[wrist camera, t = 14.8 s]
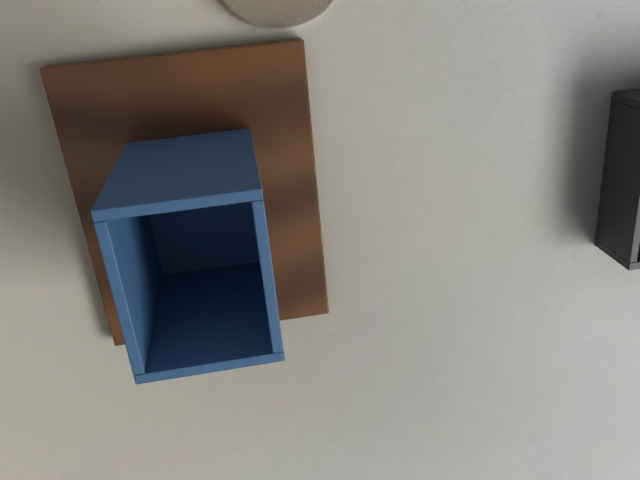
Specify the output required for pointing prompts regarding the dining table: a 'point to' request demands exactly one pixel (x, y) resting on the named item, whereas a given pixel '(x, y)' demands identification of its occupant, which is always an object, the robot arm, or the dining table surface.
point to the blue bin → (189, 256)
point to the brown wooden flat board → (201, 118)
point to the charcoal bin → (621, 183)
